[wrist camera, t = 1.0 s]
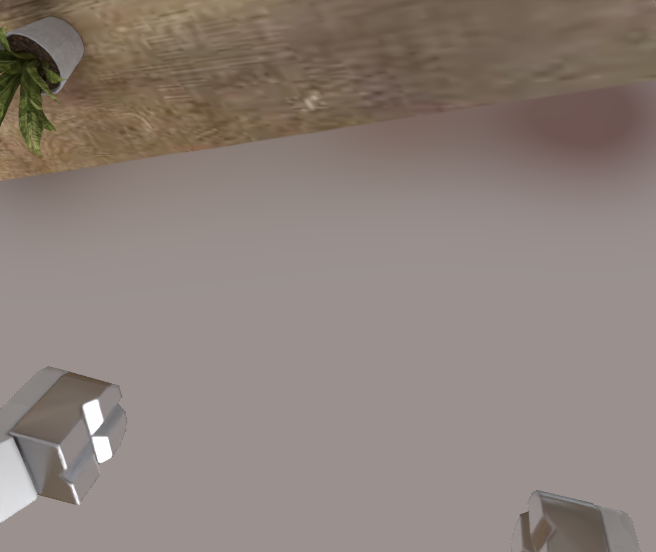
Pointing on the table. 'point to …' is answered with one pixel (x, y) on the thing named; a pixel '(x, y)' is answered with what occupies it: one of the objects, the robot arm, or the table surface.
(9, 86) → the house plant
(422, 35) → the table surface
